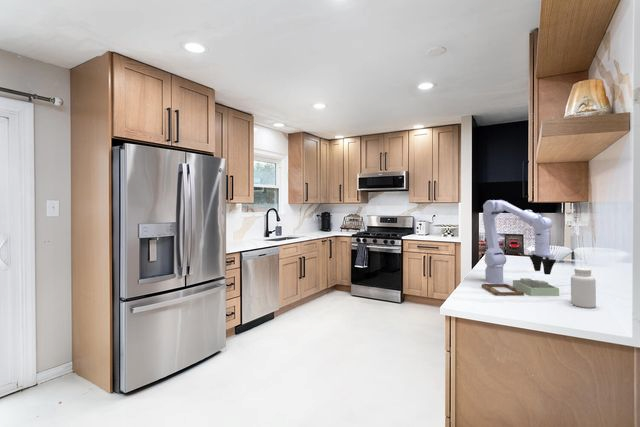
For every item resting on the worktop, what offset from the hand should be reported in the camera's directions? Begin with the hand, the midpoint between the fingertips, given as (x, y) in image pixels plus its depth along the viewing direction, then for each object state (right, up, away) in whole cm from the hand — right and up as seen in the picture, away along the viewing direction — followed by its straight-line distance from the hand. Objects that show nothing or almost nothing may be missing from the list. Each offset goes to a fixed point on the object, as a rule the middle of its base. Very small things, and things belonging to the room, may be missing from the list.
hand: (542, 272), depth 152 cm
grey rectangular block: (-4, -9, +6) cm, 11 cm away
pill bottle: (+5, -10, -18) cm, 21 cm away
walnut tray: (-17, -10, +4) cm, 20 cm away
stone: (0, -9, 0) cm, 9 cm away
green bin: (-2, -10, +3) cm, 10 cm away
